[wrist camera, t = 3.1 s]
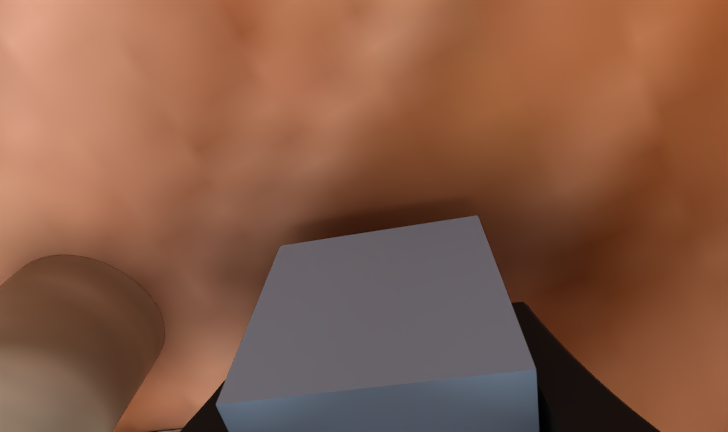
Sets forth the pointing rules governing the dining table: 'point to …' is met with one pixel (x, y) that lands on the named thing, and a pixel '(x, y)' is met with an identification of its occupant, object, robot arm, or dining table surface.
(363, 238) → the cube
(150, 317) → the cylinder
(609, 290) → the dining table surface
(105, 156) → the dining table surface
